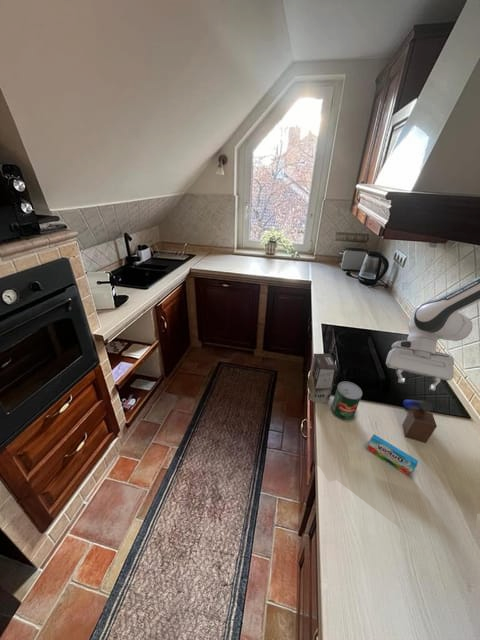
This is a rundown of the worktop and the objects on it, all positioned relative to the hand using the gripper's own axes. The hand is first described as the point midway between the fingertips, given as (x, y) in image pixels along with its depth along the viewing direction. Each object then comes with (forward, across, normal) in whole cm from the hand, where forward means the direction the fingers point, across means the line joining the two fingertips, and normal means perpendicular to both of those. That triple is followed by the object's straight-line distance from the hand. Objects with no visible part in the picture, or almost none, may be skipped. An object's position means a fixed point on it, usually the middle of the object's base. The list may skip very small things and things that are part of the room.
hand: (416, 386), depth 89 cm
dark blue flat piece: (+11, 0, -3) cm, 11 cm away
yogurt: (+25, +9, +11) cm, 29 cm away
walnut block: (+16, 0, +2) cm, 16 cm away
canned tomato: (+15, +22, +2) cm, 27 cm away
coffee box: (+12, +32, -2) cm, 34 cm away
